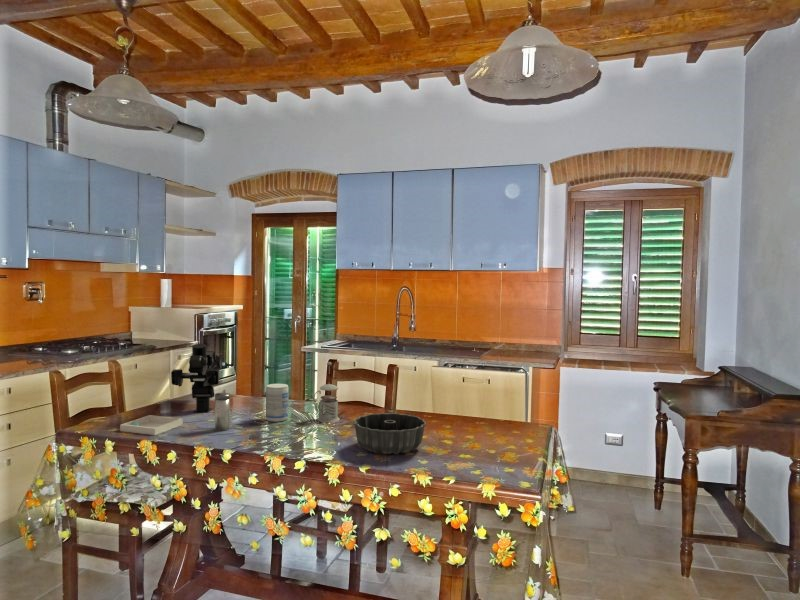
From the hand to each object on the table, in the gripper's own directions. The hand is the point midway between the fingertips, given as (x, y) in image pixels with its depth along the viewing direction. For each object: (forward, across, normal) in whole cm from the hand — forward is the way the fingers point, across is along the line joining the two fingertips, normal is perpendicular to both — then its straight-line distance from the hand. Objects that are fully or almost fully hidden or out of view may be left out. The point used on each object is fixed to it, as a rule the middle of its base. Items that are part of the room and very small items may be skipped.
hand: (191, 385), depth 225 cm
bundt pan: (+39, +76, +8) cm, 86 cm away
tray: (+7, -14, +15) cm, 22 cm away
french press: (-2, +55, +18) cm, 57 cm away
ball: (+9, -20, +14) cm, 26 cm away
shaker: (+10, +13, +15) cm, 22 cm away
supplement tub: (-4, +34, +18) cm, 38 cm away
